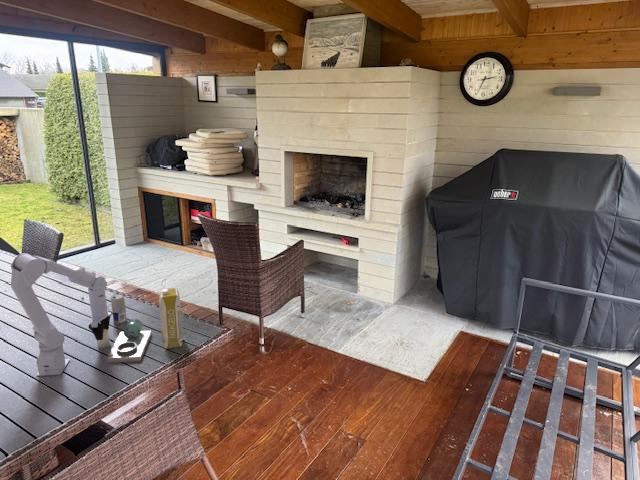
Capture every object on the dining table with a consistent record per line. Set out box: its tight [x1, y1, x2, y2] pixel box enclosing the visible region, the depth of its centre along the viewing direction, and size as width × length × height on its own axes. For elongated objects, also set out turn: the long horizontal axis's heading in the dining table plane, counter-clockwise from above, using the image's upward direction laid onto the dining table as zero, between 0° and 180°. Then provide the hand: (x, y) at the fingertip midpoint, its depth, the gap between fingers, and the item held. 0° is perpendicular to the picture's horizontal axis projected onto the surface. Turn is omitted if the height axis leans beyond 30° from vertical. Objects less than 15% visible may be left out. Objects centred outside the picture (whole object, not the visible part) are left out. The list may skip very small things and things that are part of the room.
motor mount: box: [106, 318, 152, 363], centre depth 175 cm, size 20×12×8 cm, turn 9°
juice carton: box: [158, 287, 184, 349], centre depth 177 cm, size 9×8×24 cm
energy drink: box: [110, 293, 127, 324], centre depth 194 cm, size 5×5×12 cm
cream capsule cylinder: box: [96, 329, 111, 349], centre depth 176 cm, size 4×4×7 cm
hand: (102, 334), depth 176 cm, fingers open, 7 cm apart
